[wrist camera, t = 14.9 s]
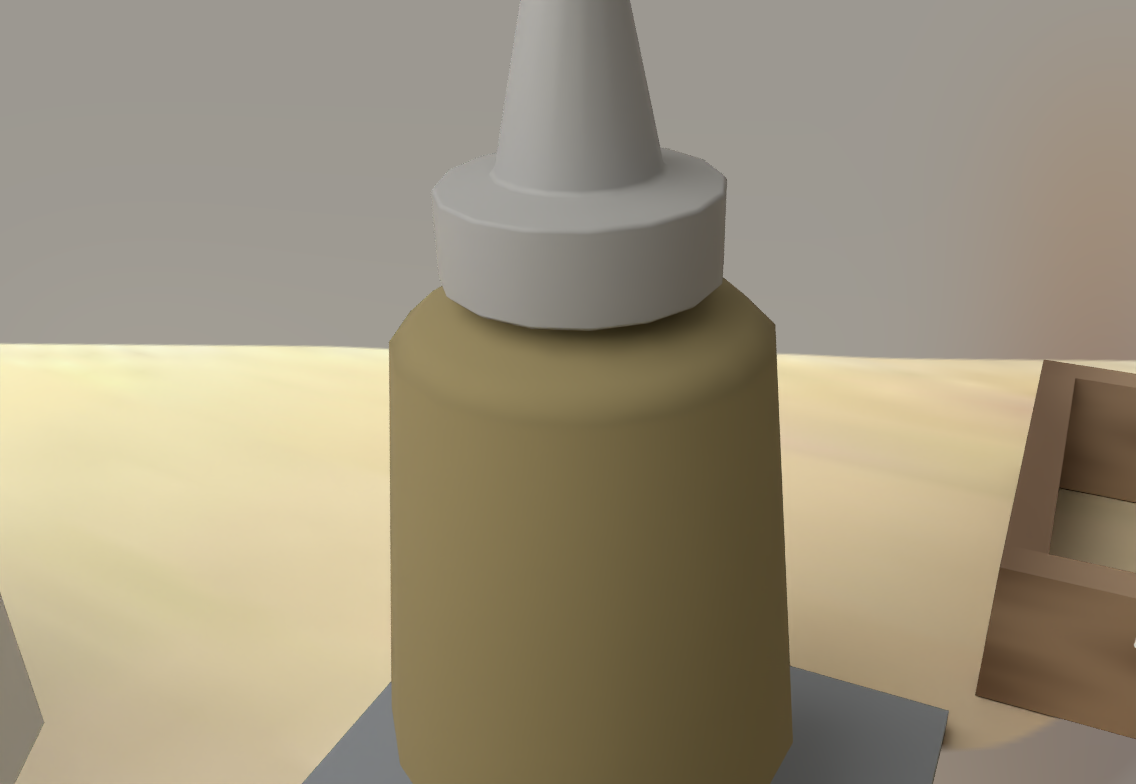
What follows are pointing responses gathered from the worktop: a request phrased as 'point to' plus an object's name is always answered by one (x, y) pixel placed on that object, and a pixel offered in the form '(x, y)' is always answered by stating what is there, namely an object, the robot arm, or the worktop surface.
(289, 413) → the worktop surface
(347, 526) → the worktop surface
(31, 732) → the robot arm
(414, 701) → the squeeze bottle
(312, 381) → the worktop surface
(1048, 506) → the holder
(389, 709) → the mat
